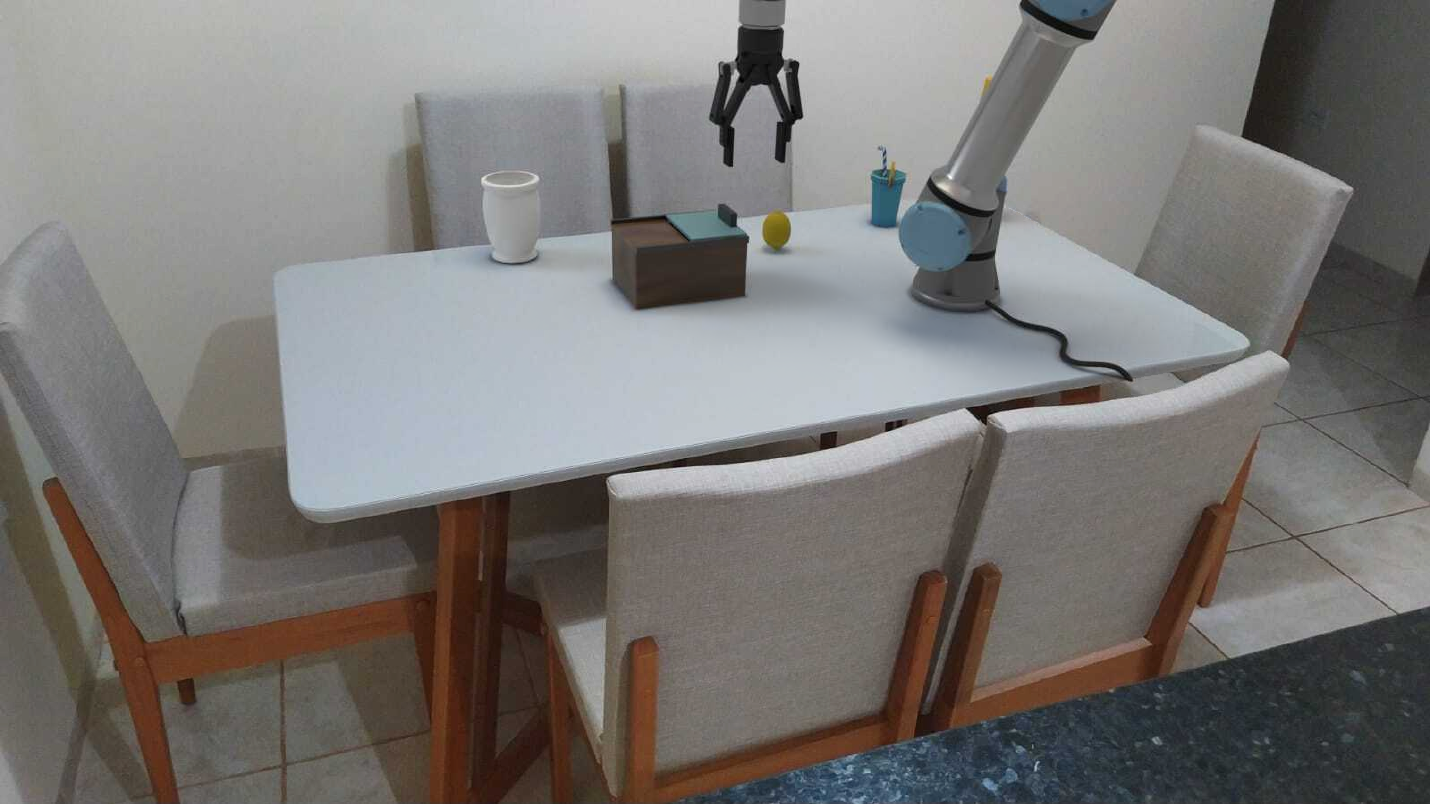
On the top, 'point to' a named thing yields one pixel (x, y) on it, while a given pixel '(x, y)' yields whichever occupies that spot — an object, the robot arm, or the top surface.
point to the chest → (674, 263)
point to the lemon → (776, 229)
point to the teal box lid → (708, 224)
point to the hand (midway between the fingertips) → (754, 162)
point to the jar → (512, 214)
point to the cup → (886, 193)
